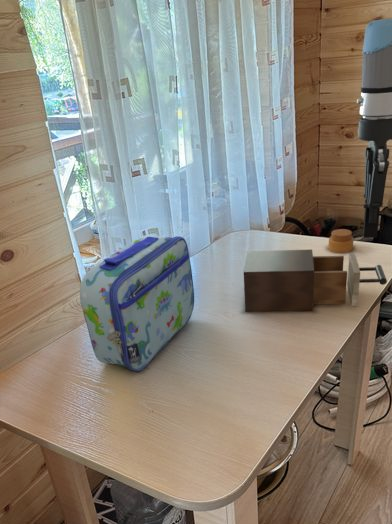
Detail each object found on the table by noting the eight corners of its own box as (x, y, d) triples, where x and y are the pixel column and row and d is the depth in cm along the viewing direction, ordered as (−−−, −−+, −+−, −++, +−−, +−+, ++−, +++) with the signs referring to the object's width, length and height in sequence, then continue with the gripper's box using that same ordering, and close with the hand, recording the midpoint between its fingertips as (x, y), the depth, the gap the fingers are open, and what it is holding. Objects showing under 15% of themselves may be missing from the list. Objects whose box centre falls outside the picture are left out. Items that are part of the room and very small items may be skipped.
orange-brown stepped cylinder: (351, 243, 141) (352, 227, 139) (354, 252, 136) (355, 236, 134) (327, 244, 142) (328, 228, 140) (329, 253, 137) (330, 237, 135)
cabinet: (310, 288, 121) (312, 249, 116) (312, 311, 111) (314, 270, 106) (248, 289, 123) (247, 251, 118) (245, 312, 114) (243, 272, 109)
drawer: (378, 284, 117) (382, 252, 113) (385, 305, 108) (389, 271, 104) (292, 285, 120) (293, 254, 116) (293, 306, 112) (293, 273, 108)
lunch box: (134, 384, 94) (115, 279, 83) (89, 371, 99) (65, 271, 88) (203, 318, 113) (194, 226, 102) (162, 310, 118) (149, 221, 107)
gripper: (355, 112, 102) (348, 226, 115) (363, 123, 92) (355, 248, 104) (394, 108, 101) (383, 224, 114) (408, 119, 90) (394, 246, 103)
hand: (369, 236), depth 109 cm, fingers closed
